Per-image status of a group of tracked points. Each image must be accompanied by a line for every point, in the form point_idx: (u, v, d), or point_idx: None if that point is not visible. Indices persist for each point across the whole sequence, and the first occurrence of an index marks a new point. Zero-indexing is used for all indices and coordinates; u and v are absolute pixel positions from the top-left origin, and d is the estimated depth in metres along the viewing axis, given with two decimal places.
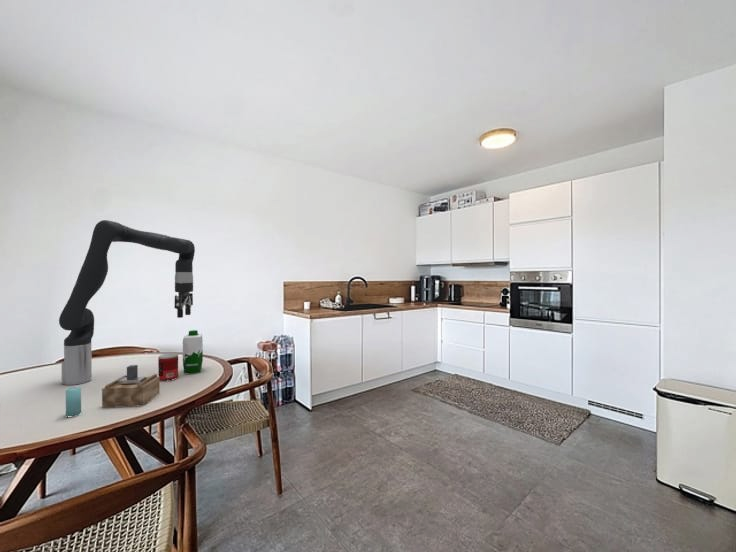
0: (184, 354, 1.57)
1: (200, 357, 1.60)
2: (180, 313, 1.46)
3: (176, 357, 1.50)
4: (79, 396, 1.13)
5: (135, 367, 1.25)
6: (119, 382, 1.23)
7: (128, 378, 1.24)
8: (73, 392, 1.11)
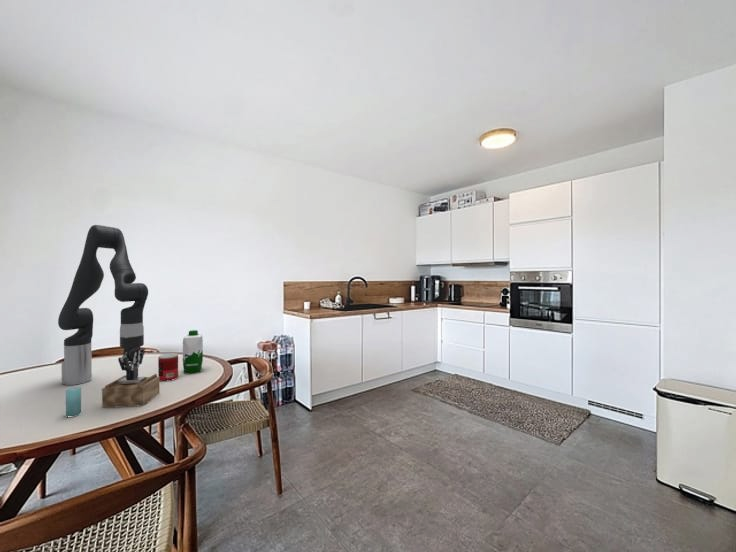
0: (184, 354, 1.57)
1: (200, 357, 1.60)
2: (129, 375, 1.23)
3: (176, 357, 1.50)
4: (79, 396, 1.13)
5: (135, 367, 1.25)
6: (119, 382, 1.23)
7: None
8: (73, 392, 1.11)
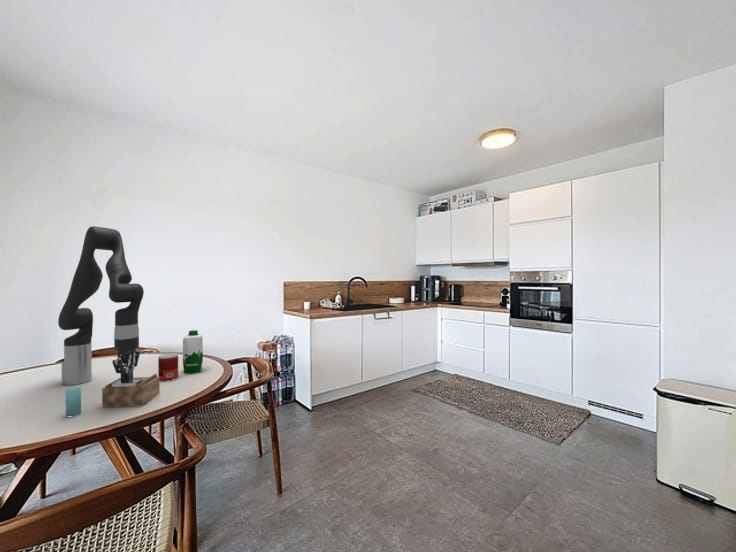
0: (184, 354, 1.57)
1: (200, 357, 1.60)
2: (124, 378, 1.19)
3: (176, 357, 1.50)
4: (79, 396, 1.13)
5: (130, 370, 1.22)
6: (113, 385, 1.20)
7: None
8: (73, 392, 1.11)
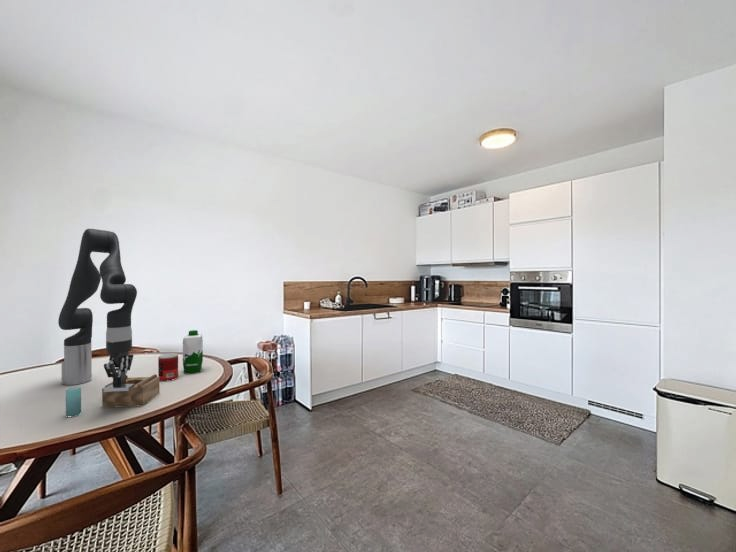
0: (184, 354, 1.57)
1: (200, 357, 1.60)
2: (116, 382, 1.15)
3: (176, 357, 1.50)
4: (79, 396, 1.13)
5: (123, 373, 1.17)
6: (105, 390, 1.15)
7: None
8: (73, 392, 1.11)
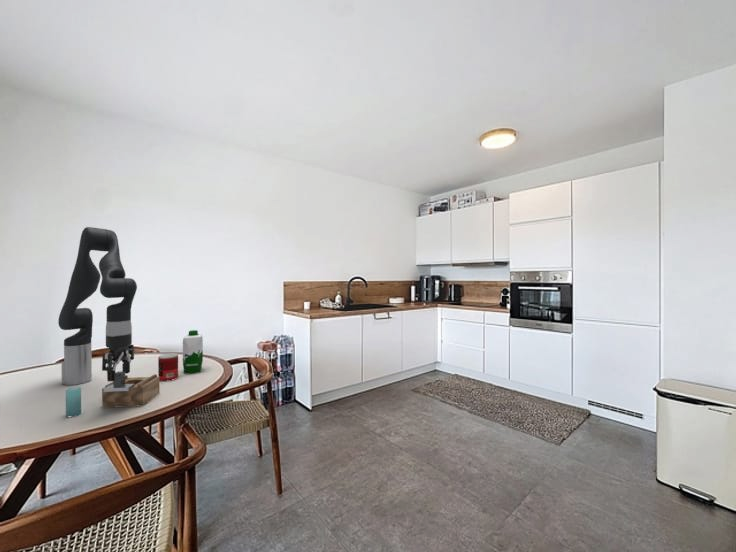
0: (184, 354, 1.57)
1: (200, 357, 1.60)
2: (111, 376, 1.12)
3: (176, 357, 1.50)
4: (79, 396, 1.13)
5: (122, 374, 1.17)
6: (105, 390, 1.15)
7: (115, 385, 1.16)
8: (73, 391, 1.11)
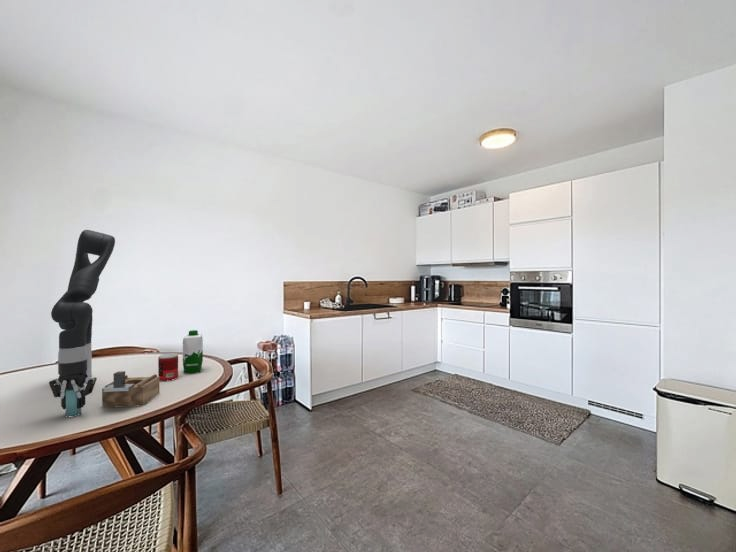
0: (184, 354, 1.57)
1: (200, 357, 1.60)
2: (61, 403, 1.12)
3: (176, 357, 1.50)
4: None
5: (122, 374, 1.17)
6: (105, 390, 1.15)
7: (115, 385, 1.16)
8: (74, 391, 1.11)
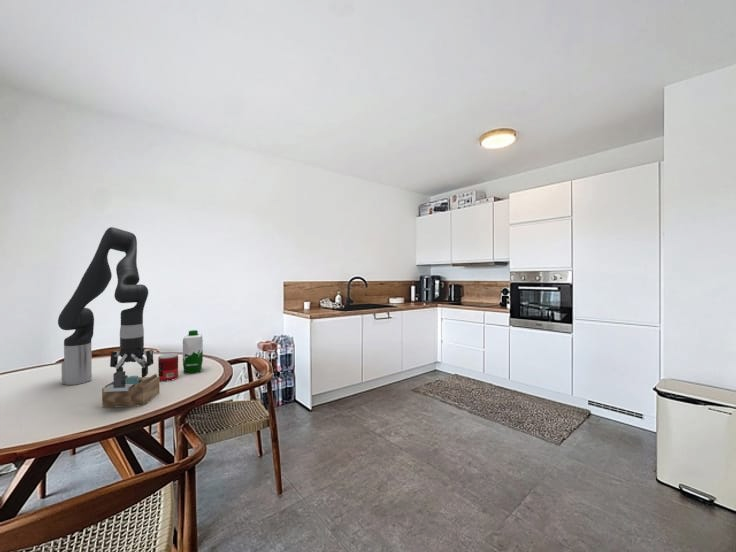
0: (184, 354, 1.57)
1: (200, 357, 1.60)
2: None
3: (176, 357, 1.50)
4: (137, 383, 1.26)
5: (122, 374, 1.17)
6: (105, 390, 1.15)
7: (115, 385, 1.16)
8: (133, 379, 1.24)
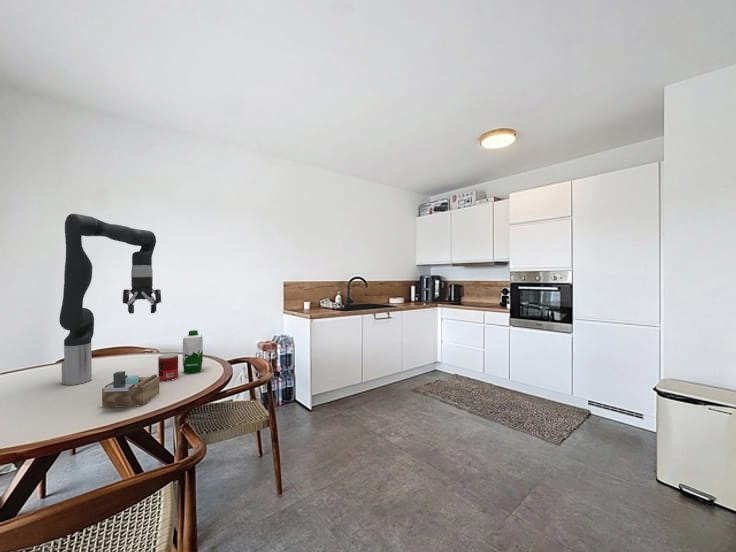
0: (184, 354, 1.57)
1: (200, 357, 1.60)
2: (128, 308, 1.38)
3: (176, 357, 1.50)
4: (137, 383, 1.26)
5: (122, 374, 1.17)
6: (105, 390, 1.15)
7: (115, 385, 1.16)
8: (133, 379, 1.24)
